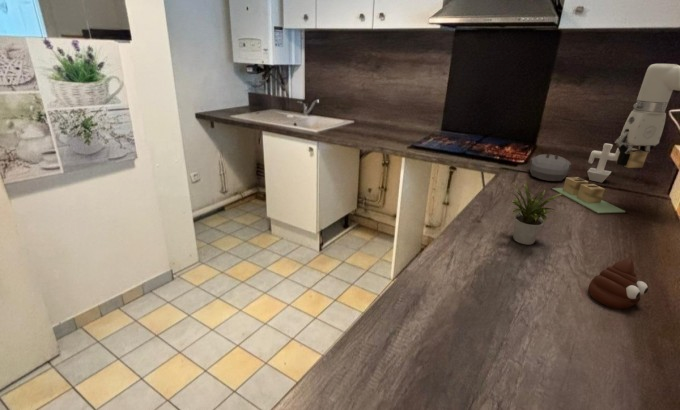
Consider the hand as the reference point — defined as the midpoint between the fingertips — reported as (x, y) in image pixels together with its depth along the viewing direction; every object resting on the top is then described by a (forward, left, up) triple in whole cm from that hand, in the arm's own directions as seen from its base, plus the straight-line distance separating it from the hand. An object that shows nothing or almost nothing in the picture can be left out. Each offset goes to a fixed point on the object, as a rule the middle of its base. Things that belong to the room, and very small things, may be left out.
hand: (629, 164), depth 116 cm
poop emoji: (+43, +45, -15) cm, 64 cm away
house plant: (+48, +19, -15) cm, 53 cm away
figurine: (-14, -24, -15) cm, 32 cm away
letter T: (0, 0, 0) cm, 0 cm away
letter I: (+7, -4, -14) cm, 16 cm away
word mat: (+7, -5, -14) cm, 17 cm away
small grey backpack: (+3, -31, -15) cm, 34 cm away
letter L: (+7, -11, -14) cm, 19 cm away
